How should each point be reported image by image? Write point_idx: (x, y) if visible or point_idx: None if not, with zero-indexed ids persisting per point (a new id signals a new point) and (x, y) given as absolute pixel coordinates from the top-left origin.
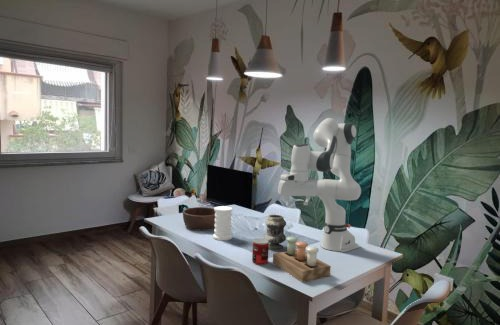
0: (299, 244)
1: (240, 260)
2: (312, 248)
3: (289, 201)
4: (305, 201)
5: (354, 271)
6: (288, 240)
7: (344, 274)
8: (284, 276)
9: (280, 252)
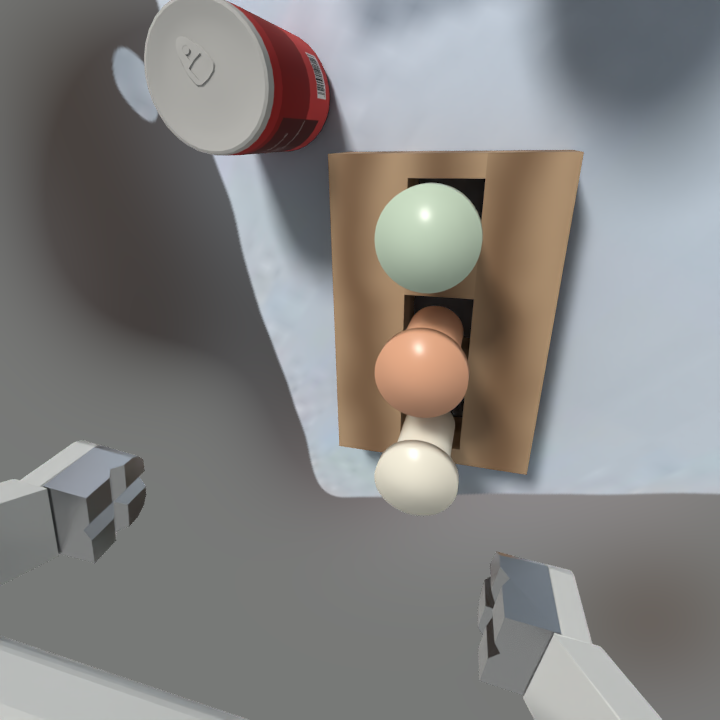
0: (386, 387)
1: None
2: (418, 481)
3: (83, 524)
4: (546, 648)
5: (713, 468)
6: (379, 253)
7: (617, 462)
8: (317, 333)
9: (389, 154)
